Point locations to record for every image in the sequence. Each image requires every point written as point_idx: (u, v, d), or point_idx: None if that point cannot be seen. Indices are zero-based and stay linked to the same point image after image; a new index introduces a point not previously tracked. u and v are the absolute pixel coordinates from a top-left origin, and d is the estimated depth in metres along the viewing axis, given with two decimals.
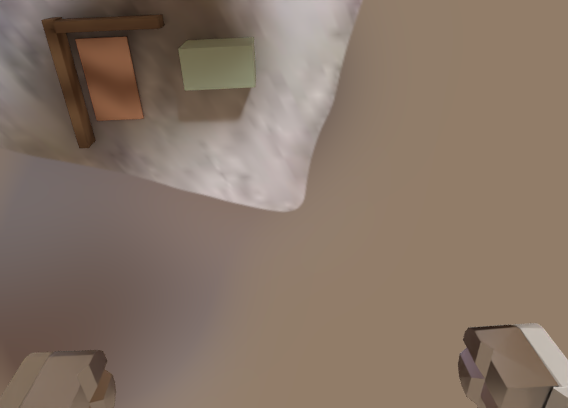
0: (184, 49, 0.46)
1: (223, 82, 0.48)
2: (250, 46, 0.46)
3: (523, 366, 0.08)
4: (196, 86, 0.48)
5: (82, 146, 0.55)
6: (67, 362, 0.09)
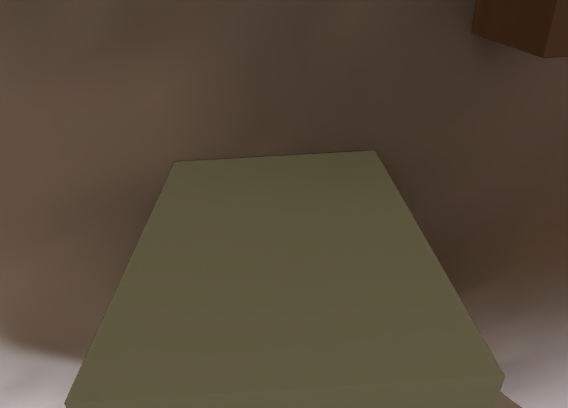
0: None
1: None
2: None
3: None
4: None
5: None
6: None
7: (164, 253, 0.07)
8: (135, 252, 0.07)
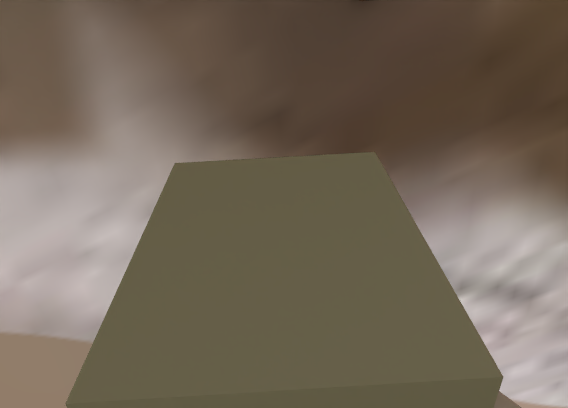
0: None
1: None
2: None
3: None
4: None
5: None
6: None
7: (164, 254, 0.07)
8: (135, 253, 0.07)
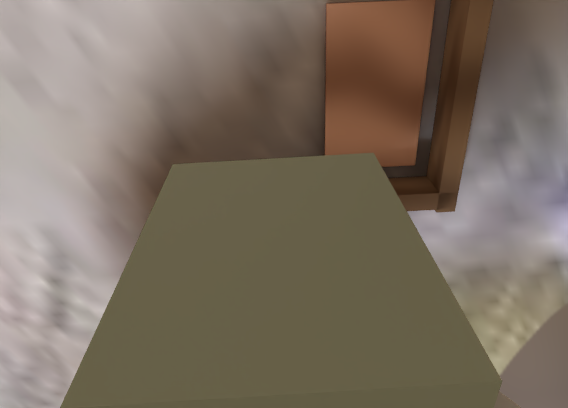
0: None
1: None
2: None
3: None
4: None
5: None
6: None
7: (161, 256, 0.06)
8: (132, 256, 0.07)
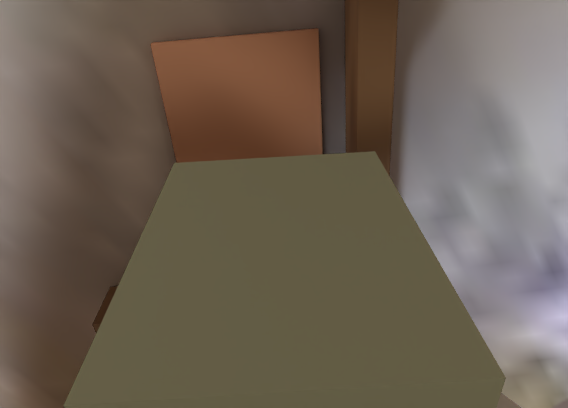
0: None
1: None
2: None
3: None
4: None
5: None
6: None
7: (164, 255, 0.06)
8: (134, 254, 0.07)
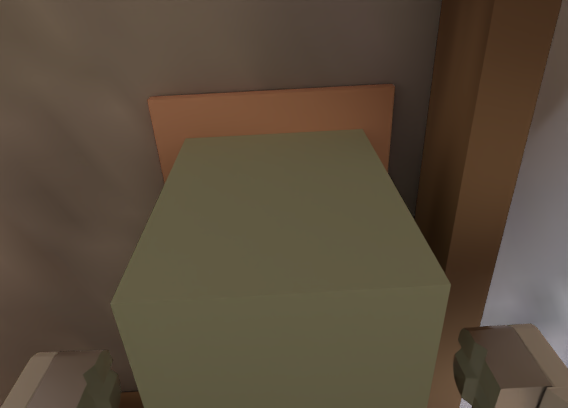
0: (436, 318, 0.06)
1: None
2: None
3: (517, 366, 0.08)
4: (161, 372, 0.06)
5: None
6: (73, 362, 0.09)
7: (181, 206, 0.08)
8: (156, 206, 0.08)
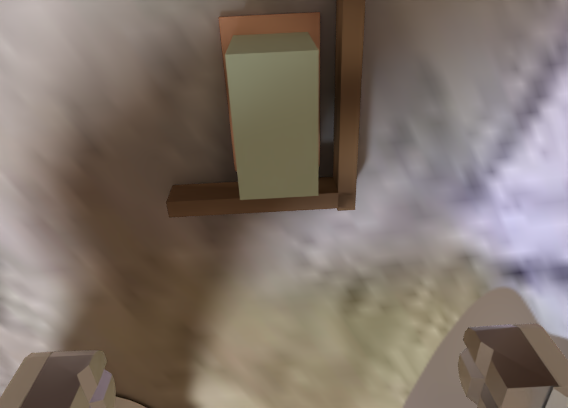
0: (316, 64, 0.21)
1: (246, 141, 0.23)
2: (316, 192, 0.24)
3: (523, 366, 0.08)
4: (236, 83, 0.21)
5: None
6: (67, 362, 0.09)
7: (238, 45, 0.23)
8: (229, 45, 0.23)
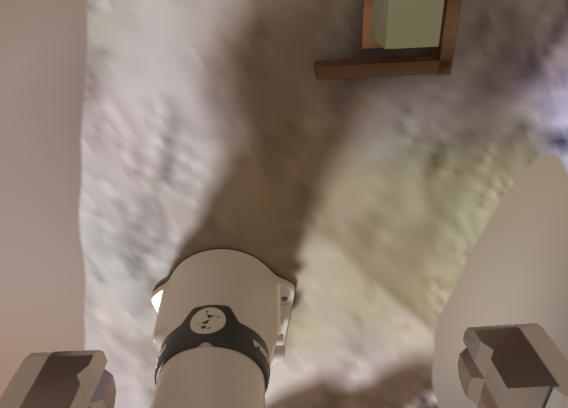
0: None
1: (397, 2, 0.34)
2: (437, 44, 0.36)
3: (523, 366, 0.08)
4: None
5: None
6: (67, 362, 0.09)
7: None
8: None
